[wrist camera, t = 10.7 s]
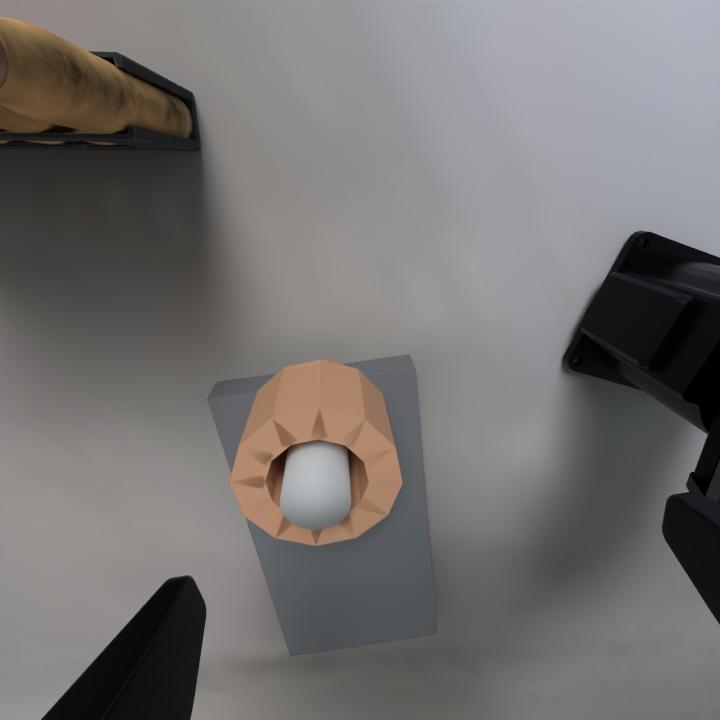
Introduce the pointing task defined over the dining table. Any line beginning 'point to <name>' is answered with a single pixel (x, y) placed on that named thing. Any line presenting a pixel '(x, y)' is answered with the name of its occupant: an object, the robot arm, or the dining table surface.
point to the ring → (311, 422)
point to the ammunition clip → (86, 98)
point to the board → (357, 565)
